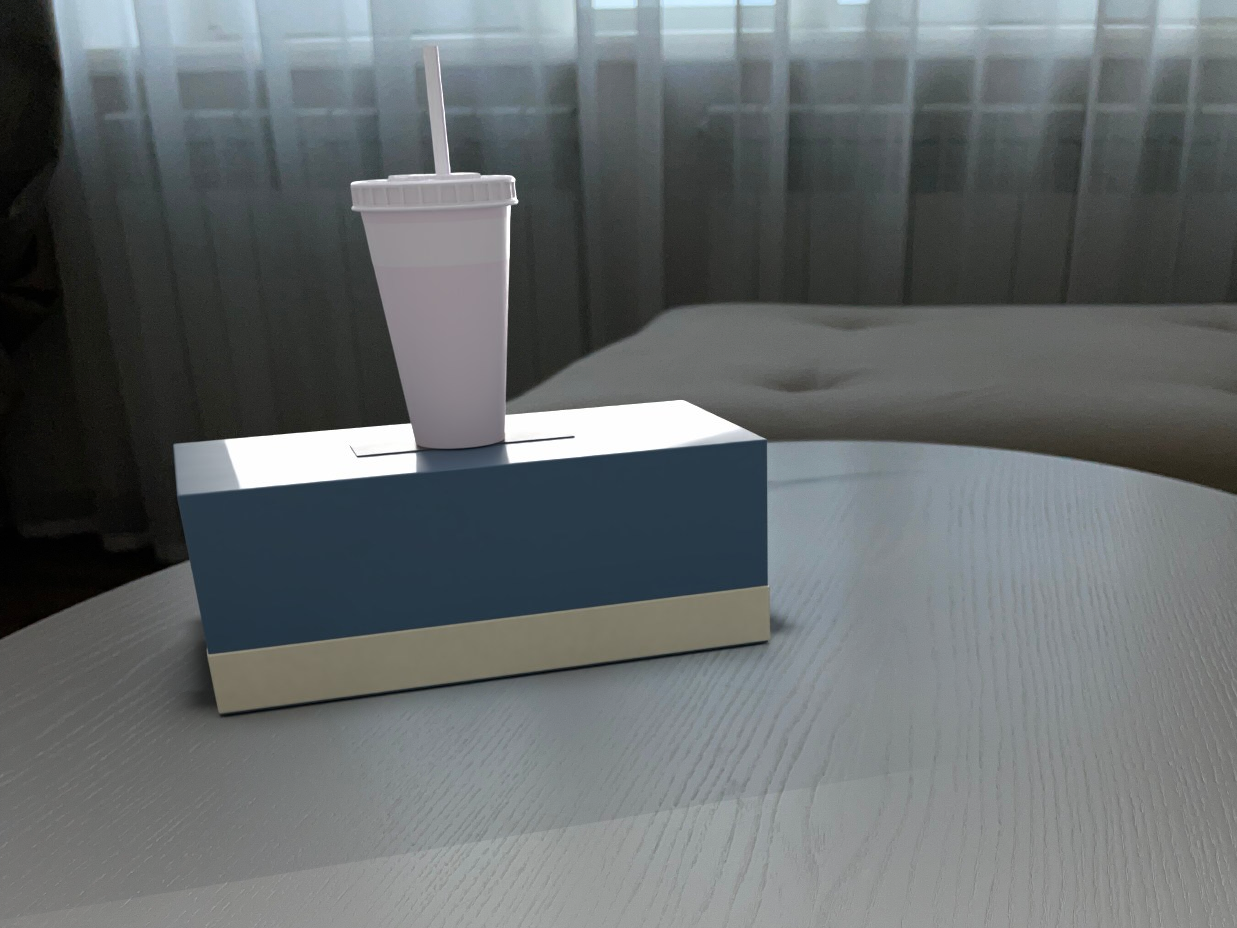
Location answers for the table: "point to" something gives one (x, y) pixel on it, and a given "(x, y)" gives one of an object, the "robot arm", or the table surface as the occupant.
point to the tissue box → (472, 551)
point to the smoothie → (444, 287)
